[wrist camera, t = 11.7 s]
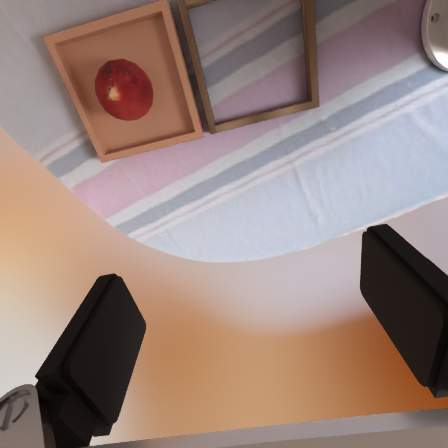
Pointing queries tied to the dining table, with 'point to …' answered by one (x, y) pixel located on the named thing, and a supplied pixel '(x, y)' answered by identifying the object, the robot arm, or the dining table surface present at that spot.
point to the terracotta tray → (148, 61)
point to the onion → (124, 89)
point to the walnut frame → (307, 3)
